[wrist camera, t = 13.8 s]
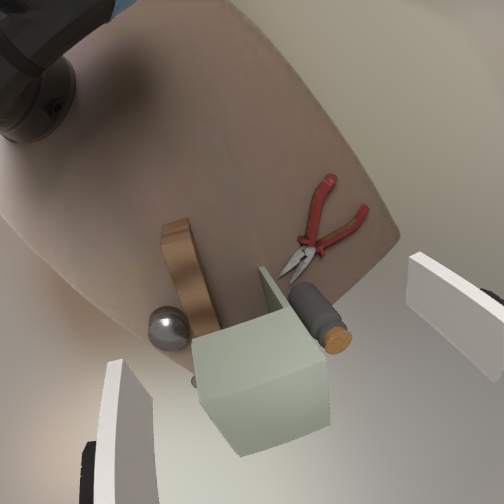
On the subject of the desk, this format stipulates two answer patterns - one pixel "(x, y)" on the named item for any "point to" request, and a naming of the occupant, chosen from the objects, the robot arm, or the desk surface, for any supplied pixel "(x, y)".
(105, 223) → the desk surface
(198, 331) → the brown wooden block
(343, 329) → the bottle
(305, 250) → the pliers
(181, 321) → the silver metal dome
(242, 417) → the green bedside cabinet
